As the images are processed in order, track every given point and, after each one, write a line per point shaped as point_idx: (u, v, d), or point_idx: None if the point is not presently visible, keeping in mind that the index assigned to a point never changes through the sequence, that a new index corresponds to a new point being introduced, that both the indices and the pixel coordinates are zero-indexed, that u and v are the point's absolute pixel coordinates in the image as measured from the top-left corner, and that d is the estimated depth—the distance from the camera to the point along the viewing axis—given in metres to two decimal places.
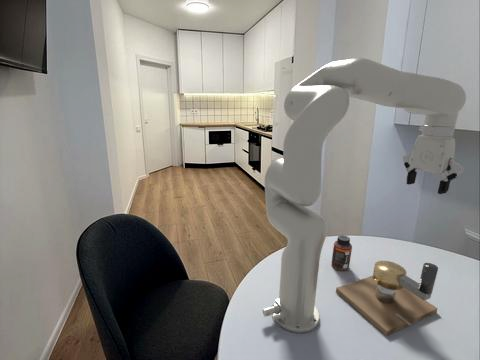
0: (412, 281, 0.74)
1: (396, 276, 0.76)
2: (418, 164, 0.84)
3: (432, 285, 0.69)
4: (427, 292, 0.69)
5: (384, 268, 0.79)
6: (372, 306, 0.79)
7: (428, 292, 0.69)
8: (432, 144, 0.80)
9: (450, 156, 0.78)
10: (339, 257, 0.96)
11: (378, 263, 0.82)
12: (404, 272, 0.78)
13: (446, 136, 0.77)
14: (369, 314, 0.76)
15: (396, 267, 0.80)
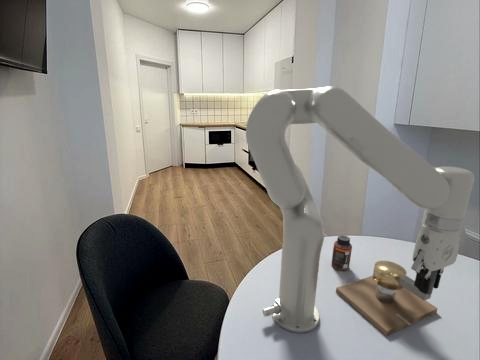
0: (412, 281, 0.74)
1: (396, 276, 0.76)
2: (439, 265, 0.65)
3: (432, 285, 0.69)
4: (427, 292, 0.69)
5: (384, 268, 0.79)
6: (372, 306, 0.79)
7: (428, 292, 0.69)
8: (454, 237, 0.64)
9: None
10: (339, 256, 0.96)
11: (378, 263, 0.82)
12: (404, 272, 0.78)
13: None
14: (369, 314, 0.76)
15: (396, 267, 0.80)
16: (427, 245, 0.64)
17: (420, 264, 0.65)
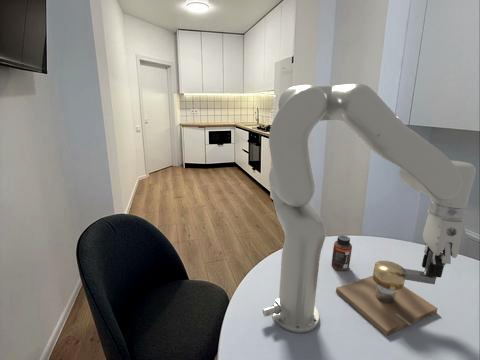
0: (415, 271, 0.78)
1: (404, 273, 0.77)
2: None
3: None
4: None
5: (388, 270, 0.78)
6: (372, 306, 0.79)
7: None
8: None
9: None
10: (339, 257, 0.96)
11: (378, 268, 0.80)
12: (399, 266, 0.81)
13: None
14: (369, 314, 0.76)
15: (389, 264, 0.81)
16: (454, 236, 0.68)
17: None
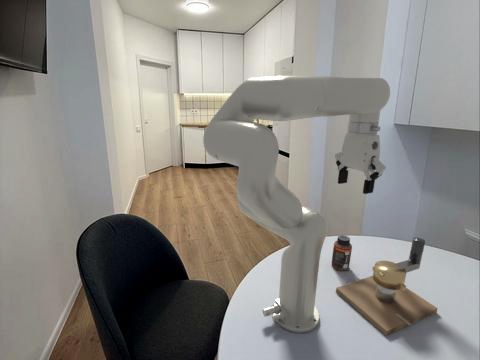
0: (404, 263, 0.82)
1: (403, 269, 0.79)
2: None
3: None
4: None
5: (392, 271, 0.78)
6: (372, 306, 0.79)
7: None
8: None
9: None
10: (339, 257, 0.96)
11: (383, 272, 0.77)
12: (391, 262, 0.82)
13: None
14: (369, 314, 0.76)
15: (384, 264, 0.81)
16: (377, 149, 0.74)
17: None
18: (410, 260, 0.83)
